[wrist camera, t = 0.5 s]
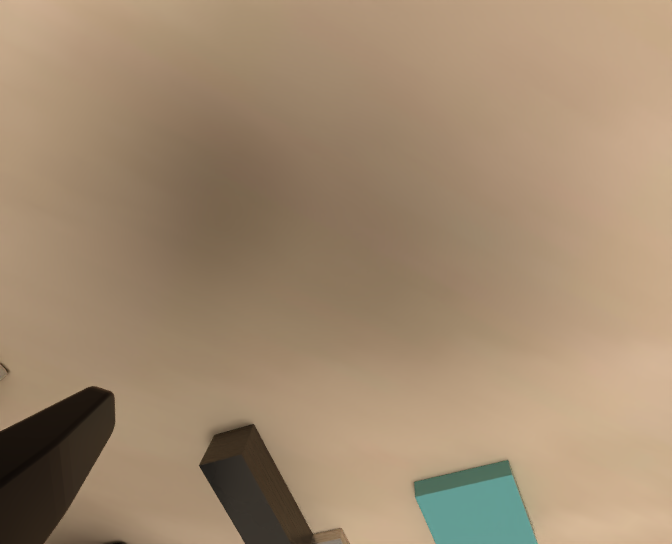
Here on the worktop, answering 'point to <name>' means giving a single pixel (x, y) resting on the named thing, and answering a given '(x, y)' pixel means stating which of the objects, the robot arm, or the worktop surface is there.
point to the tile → (475, 507)
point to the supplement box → (2, 372)
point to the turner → (257, 492)
